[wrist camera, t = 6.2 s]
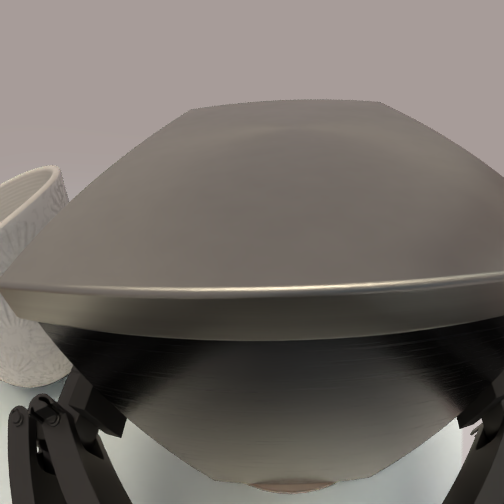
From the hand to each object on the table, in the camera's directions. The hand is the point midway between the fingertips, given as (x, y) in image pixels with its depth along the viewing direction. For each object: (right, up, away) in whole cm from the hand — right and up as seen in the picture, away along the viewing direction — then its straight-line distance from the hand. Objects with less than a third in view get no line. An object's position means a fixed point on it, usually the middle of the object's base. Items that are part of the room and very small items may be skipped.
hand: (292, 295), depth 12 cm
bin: (+1, -7, +5) cm, 9 cm away
